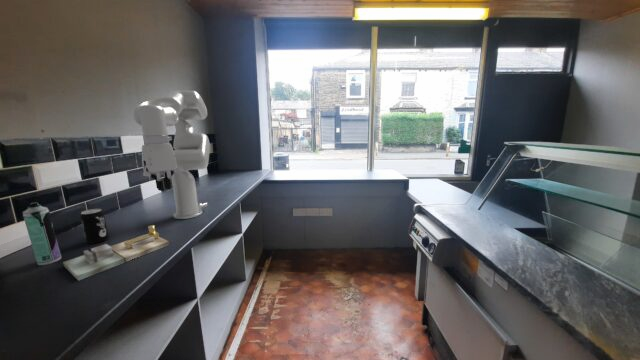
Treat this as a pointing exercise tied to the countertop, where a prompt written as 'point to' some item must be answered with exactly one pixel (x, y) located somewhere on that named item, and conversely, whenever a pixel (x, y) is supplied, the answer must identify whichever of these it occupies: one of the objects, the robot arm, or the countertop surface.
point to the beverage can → (94, 226)
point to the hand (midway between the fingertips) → (164, 189)
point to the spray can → (41, 234)
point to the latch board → (110, 256)
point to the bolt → (143, 237)
